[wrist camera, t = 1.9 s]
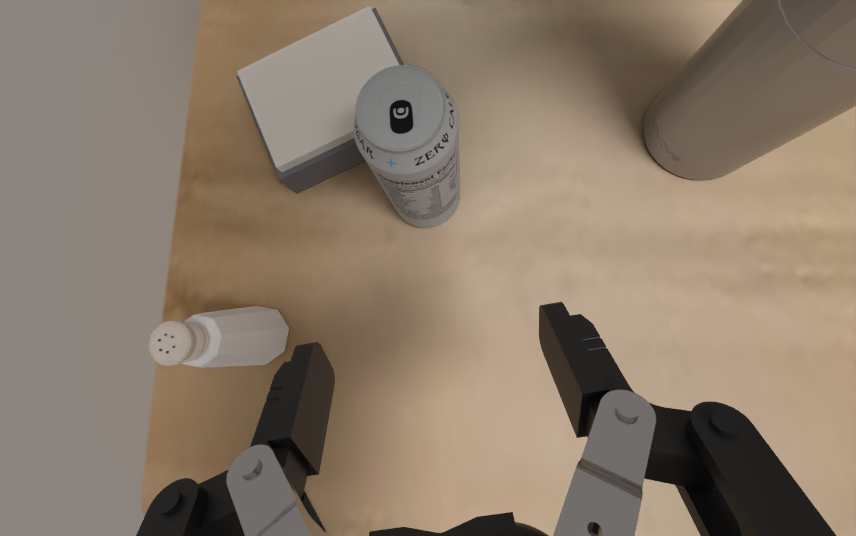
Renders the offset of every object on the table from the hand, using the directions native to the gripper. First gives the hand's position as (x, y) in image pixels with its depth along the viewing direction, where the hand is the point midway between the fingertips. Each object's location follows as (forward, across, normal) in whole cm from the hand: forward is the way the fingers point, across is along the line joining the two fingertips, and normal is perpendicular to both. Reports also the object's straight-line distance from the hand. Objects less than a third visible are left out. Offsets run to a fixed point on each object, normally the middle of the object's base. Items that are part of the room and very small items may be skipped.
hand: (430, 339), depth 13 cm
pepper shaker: (+15, +17, +12) cm, 26 cm away
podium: (+29, +7, -2) cm, 30 cm away
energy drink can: (+22, 0, +5) cm, 23 cm away
